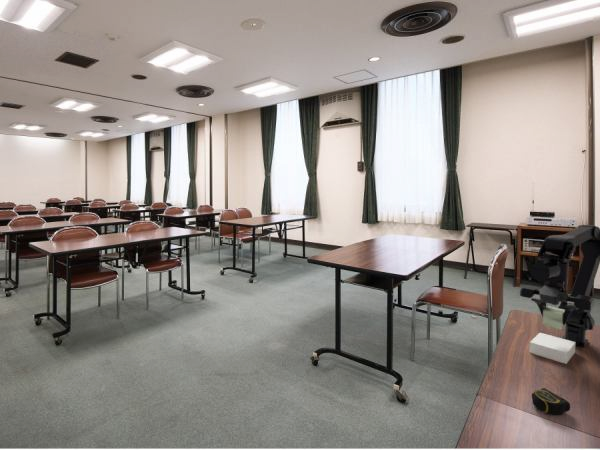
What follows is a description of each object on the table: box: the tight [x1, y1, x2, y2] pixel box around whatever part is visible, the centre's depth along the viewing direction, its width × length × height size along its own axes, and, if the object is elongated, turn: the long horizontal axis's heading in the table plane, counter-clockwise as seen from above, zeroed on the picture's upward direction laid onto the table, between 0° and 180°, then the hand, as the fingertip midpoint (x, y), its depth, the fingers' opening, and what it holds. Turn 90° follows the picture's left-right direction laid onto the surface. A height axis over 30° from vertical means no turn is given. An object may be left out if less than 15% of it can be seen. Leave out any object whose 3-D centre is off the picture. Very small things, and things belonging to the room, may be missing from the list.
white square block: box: [528, 332, 576, 365], centre depth 114 cm, size 10×10×4 cm
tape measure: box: [531, 387, 571, 416], centre depth 87 cm, size 7×7×4 cm
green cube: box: [542, 305, 565, 330], centre depth 113 cm, size 5×5×5 cm
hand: (554, 321), depth 113 cm, fingers closed on green cube, 5 cm apart
